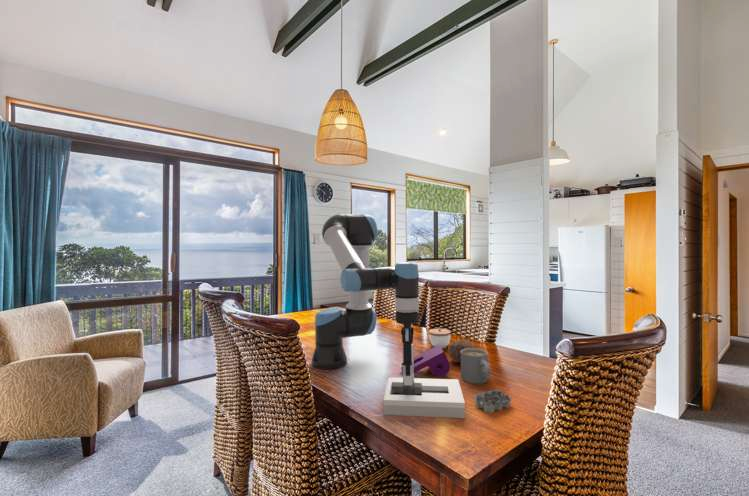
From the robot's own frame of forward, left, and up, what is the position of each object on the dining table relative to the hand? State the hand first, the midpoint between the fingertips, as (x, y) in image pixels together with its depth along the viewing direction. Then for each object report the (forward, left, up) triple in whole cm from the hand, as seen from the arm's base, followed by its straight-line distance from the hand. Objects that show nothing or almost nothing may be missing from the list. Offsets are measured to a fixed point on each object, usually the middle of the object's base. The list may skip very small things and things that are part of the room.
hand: (408, 382), depth 115 cm
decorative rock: (+22, +41, -7) cm, 47 cm away
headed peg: (0, 0, -6) cm, 6 cm away
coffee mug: (+25, +21, -7) cm, 33 cm away
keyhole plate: (+5, 0, -7) cm, 8 cm away
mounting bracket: (+5, +28, -7) cm, 29 cm away
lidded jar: (+14, +63, -7) cm, 65 cm away
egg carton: (+26, 0, -7) cm, 27 cm away
